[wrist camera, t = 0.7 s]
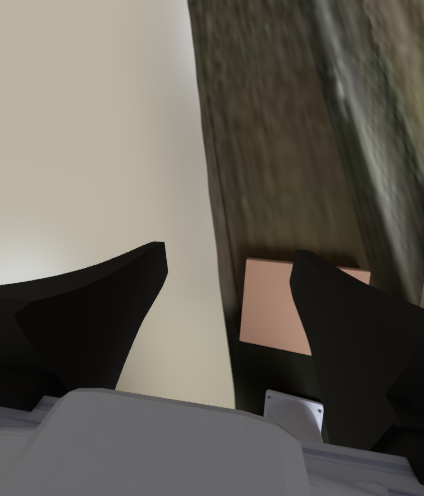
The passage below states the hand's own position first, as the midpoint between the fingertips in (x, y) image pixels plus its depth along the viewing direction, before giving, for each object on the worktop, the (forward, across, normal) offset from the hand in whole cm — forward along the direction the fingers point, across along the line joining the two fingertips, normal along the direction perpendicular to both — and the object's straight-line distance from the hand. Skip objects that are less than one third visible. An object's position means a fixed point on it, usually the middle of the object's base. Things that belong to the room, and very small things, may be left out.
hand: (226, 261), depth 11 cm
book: (+14, -10, +15) cm, 23 cm away
